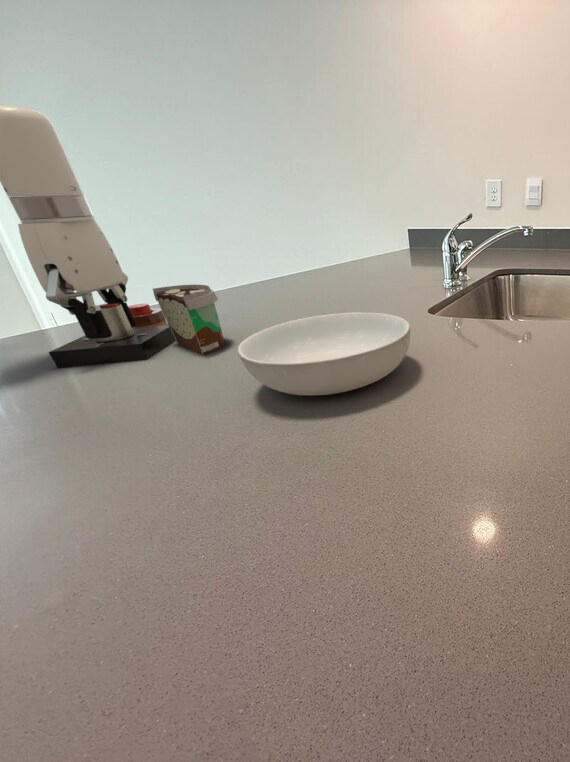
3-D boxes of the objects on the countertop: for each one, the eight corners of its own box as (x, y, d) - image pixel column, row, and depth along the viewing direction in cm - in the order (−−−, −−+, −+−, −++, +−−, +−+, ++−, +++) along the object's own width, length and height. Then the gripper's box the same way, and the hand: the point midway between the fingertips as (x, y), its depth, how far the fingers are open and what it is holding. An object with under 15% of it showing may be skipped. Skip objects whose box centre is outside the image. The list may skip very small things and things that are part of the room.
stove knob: (87, 343, 64) (70, 310, 62) (109, 333, 68) (94, 302, 66) (121, 340, 65) (106, 308, 62) (141, 331, 69) (127, 300, 67)
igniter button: (126, 317, 75) (122, 308, 74) (136, 313, 77) (132, 304, 77) (146, 316, 75) (142, 307, 74) (156, 311, 78) (152, 302, 77)
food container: (247, 346, 70) (228, 288, 65) (208, 358, 65) (184, 296, 61) (213, 335, 76) (193, 281, 71) (174, 345, 71) (150, 288, 67)
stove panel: (58, 370, 62) (47, 351, 61) (101, 347, 71) (92, 330, 70) (148, 361, 65) (139, 342, 63) (179, 340, 73) (172, 324, 72)
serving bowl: (446, 375, 57) (441, 328, 54) (291, 438, 43) (273, 380, 40) (369, 342, 70) (362, 303, 67) (232, 383, 56) (215, 336, 53)
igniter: (105, 342, 73) (95, 321, 72) (131, 329, 80) (122, 309, 79) (168, 337, 75) (159, 316, 74) (188, 324, 82) (181, 305, 81)
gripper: (72, 208, 65) (123, 318, 73) (-38, 215, 50) (41, 353, 58) (124, 207, 66) (169, 315, 74) (31, 213, 51) (100, 348, 59)
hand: (112, 330), depth 66 cm, fingers closed on stove knob, 4 cm apart
